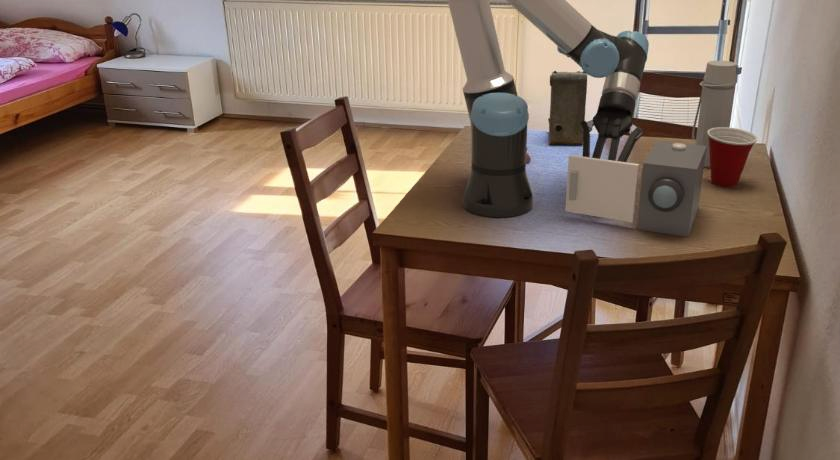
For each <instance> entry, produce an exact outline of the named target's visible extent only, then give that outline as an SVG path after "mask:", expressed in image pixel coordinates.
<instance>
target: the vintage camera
mask: <svg viewBox="0 0 840 460" xmlns="http://www.w3.org/2000/svg"><path fill="white" fill-rule="evenodd" d="M549 86H550V102H549V103H550V106H549V107H550V108H549V118H547V120H548V126H549V127H548V145H557V146H558V145H559V146H560V145H563V146H567V145H568V146H583V130H582V126H581V122H582V121H586V120H585V119H586V104H587V92H588V90H587V88H588V74H587V73H585V72H584V71H583V70H582V71H576V72H575V71H573V72H572V71H571V72H570V71H557V70H554V71H552V72H551V74H550V76H549Z"/></svg>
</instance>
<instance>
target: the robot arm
mask: <svg viewBox="0 0 840 460" xmlns="http://www.w3.org/2000/svg"><path fill="white" fill-rule="evenodd" d="M505 1H506V2H507V3H509V4H510V5H511V6H512V8H514V9H515V10H516V11H518V13H520V14H521V15H522V16H523V17H524V18H525V19H526V20H528V22H530V23H531V24H532V25H533V26H534V27H535V28H537V29H538V30H539V31H540V32H541V33H542V34H543V35H545V36H546V38H548V39H549V40H550V41H551V42H553V44H554V45H556V46H557V48H556V49H557V52H558V53H559V54H561V55H564V56H565V57H567V58H570V59H571V60H572V61H573V62H575V64H576V65H578V66H579V67H580V68H581V70H582V72H583V71H584V72H585V73H587V76H590V77H592V78H595V79H596V78H597V79H601V78H603V79H604V78H605V79H604V83H603V86H602V91H601V96H600V98H599V102H598V107H597V110H596V114H595V115H594V116H593V117H592V119H590V120H589V121H586V120H585V121H582V122H581V126H582V130H583V145H582V156H583V157H590V158H597V159H601V157H602V153H603V150H604V148H605V147H604V146H605V144H606V143H607V139H611V142H610V147H609V153H608V157H607V160H612V161H620V162H627V161H628V159H629V158H630V155H631V152H632V151H633V148H634V146H635V144H636V142H637V141H639V140H640V138H642V136H643V130H642V127H641V126H636V125H634V120H633V117H634V113H635V109H636V104H637V103H636V102H637V100H638V95H639V91H640V86H641V82H642V79H643V74H644V70H645V66H646V63H647V61H648V53H649V47H650V46H649V40H648V38H647V36H646V35H644V34H643V33H641V32H639V31H636V30H635V31H631V30H623V31H621V32H619V33H618V34H617V35H616V36H615V35H612V34H610V33H609V34H608V33H607V32H604V31H602V30H600V29H598V28H596V27H595V25H593V24H592V23H591V22H590V21H589V20H588V19H587V18H585V17H584V16H583V14H581V13H580V12H579V11H578V10H577V9H576V8H574V6H572V5H571V3H569V2H568V1H567V0H505ZM447 3H448V7H449V12H450V16H451V20H452V25H453V28H454V32H455V37H456V41H457V44H458V49H459V53H460V56H461V61H462V65H463V69H464V73H465V77H466V83H465V84H464V85H463V87H462V93H463V97H464V100H465V105H466V109H467V114H468V118H469V122H470V129H471V131H470V132H471V166H470V167H471V169H470V174H469V176H468V179H467V181H466V184H465V185H466V186H465V188H464V190H463V195H462V206H463V208H464V209H465V210H466V211H468V212H470V213H473V214H475V215H479V216H483V217H489V218H506V217H507V218H509V217H515V216H519V215H523V214H525V213H528V212H529V211H530V210H531V209H532V207H533V198H534V197H533V192H532V190H531V189H532V188H531V185H530V182H529V179H528V176H527V173H526V171H527V170H526V169H527V163H526V153H527V152H526V147H527V146H528V145H527V141H528V139H527V138H528V122H529V119H530V114H529V109H528V103H527V101H525V99H524V98H522V97H521V96H519V95H518V91H517V87H516V82H515V79H514V76H513V75H512V74H511V73H510V72H508V71H506V70H505V65H504V61H503V57H502V52H501V49H500V48H501V47H500V43H499V39H498V35H497V30H496V27H495V26H496V25H495V22H494V16H493V13H492V7H491V4H490V0H447ZM593 127H594V128H595V130H596V131H597V136H598V137H597V138H596V141H595V142H596V143H595V146H594V148H593V153H592V155H591V132H592V131H593ZM627 133H629V134H628V137H627V140H626V141H625V143H624V146H623V148H622V150H621V152H620V154H619V156H618V159H617V155H618V151H619V144H620V140H621V138H622V137H624V136H625V135H627ZM527 148H528V147H527ZM627 163H628V162H627Z"/></svg>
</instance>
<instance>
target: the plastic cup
mask: <svg viewBox="0 0 840 460" xmlns="http://www.w3.org/2000/svg"><path fill="white" fill-rule="evenodd" d="M707 135H708V137H709V146H710V168H709V169H710V181H711V183H712V184H713V185H715V186H719V187H722V188H723V187H724V188H733V187H732V186H734V187H737V186H738V183H739V181H740V179H741V176H742V173H743V171H744V169H745V166H746V163H747V160H748V156H749V154H750V152H751V151H752V148H753V146H755V145H754V144H756V143H757V142H758V136H757V135H755V134H754V133H752V132H749V131H747V130H744V129H740V128H736V127H730V126H729V127H717V128H711V129H709V130H708V132H707Z"/></svg>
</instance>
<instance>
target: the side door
mask: <svg viewBox="0 0 840 460" xmlns="http://www.w3.org/2000/svg"><path fill="white" fill-rule="evenodd" d="M567 165H568V166H567V177H566V180H567V181H566V195H565V209H564V211H565V212H568V213H569V212H570V213H576V214H579V215H587V216H592V217H593V216H594V217H599V218H604V219H610V220H616V221H622V222H626V223H627V222H628V223H634V221H635V211H636V204H637V203H636V201H637V193H638V192H637V191H638V190H637V189H638V182H639V173H640V164H639V163H634V162H620V161H617V160H616V161H612V160H608V159H603V158H600V159H597V158H592V157H591V156H590V157H583V155H573V154H569V156H568V163H567Z"/></svg>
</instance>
